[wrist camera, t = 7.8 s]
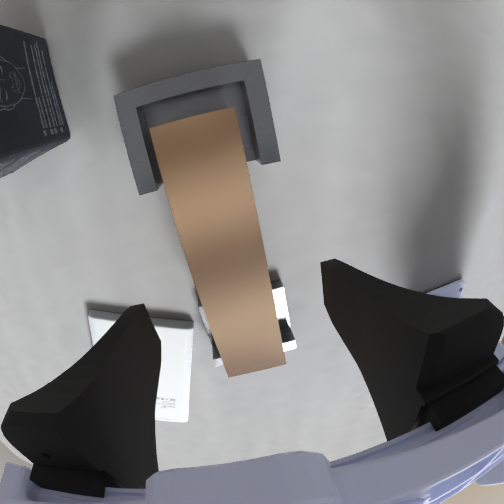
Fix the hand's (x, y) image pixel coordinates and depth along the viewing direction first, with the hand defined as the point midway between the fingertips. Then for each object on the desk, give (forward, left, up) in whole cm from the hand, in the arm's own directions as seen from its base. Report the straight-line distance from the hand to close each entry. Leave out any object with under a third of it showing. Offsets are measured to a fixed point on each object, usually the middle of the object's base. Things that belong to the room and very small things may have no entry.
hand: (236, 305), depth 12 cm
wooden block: (0, 0, -8) cm, 8 cm away
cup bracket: (+7, 0, -9) cm, 11 cm away
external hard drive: (-11, +10, -9) cm, 18 cm away
